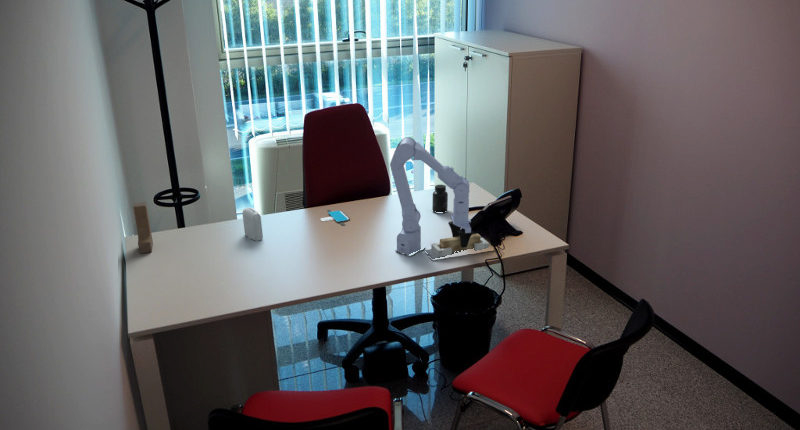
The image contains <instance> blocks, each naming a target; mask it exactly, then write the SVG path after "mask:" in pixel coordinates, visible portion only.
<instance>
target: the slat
mask: <svg viewBox="0 0 800 430" xmlns="http://www.w3.org/2000/svg"><path fill="white" fill-rule="evenodd" d="M480 237H482V236H481V235H480V234H479V233H473V234H472V235H471V237H470V239H469V242H468V245H467V247H464V248H462V247H461V241H460V236H458V237H453V236H452V237H447V238H441V239H440V238H439V243H440V249H443V248H449V247H450V248H451V249H452V252H455V251H461V250H467V249H473V248H474V244H475V243H480Z"/></svg>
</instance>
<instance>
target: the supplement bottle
mask: <svg viewBox="0 0 800 430" xmlns="http://www.w3.org/2000/svg"><path fill="white" fill-rule="evenodd" d="M446 188H447V185H446V184H445V185H444V184H436V185H434V191H433V192H432V203H431V204H432V207H431V208H432V210H433V211H436V212H445V211H447V212H448V207H449V206H448V205H449V204H448V202H449V201H448V200H449V194H448V191H447V189H446ZM433 211H432V212H433Z"/></svg>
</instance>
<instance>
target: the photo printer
mask: <svg viewBox="0 0 800 430" xmlns="http://www.w3.org/2000/svg"><path fill="white" fill-rule="evenodd" d="M242 220H243V221H242V222H243V230H244V235H246V237H248V238H250V239H251V240H253V241H256V242H259V241H261V240H262V239H263V238H264V237H263V236H264V235H263V234H264V233H263V227H262V226H263V224H262V217H261V214H260V212H259V211H258V210H256V209H254V208H252V207H245V208H244V209H243V210H242Z"/></svg>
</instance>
